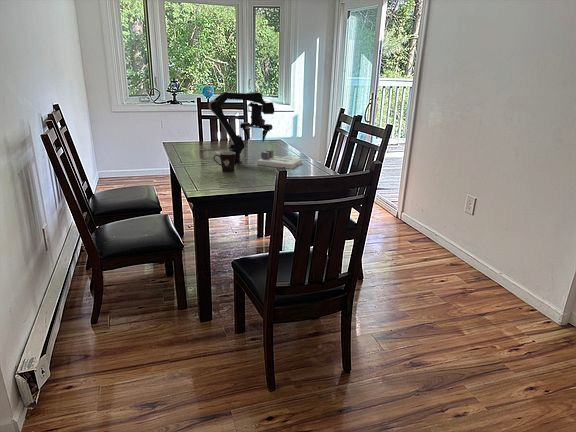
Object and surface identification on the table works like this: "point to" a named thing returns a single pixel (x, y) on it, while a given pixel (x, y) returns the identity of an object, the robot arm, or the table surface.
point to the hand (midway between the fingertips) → (256, 140)
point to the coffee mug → (227, 161)
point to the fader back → (270, 152)
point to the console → (280, 162)
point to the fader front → (265, 155)
